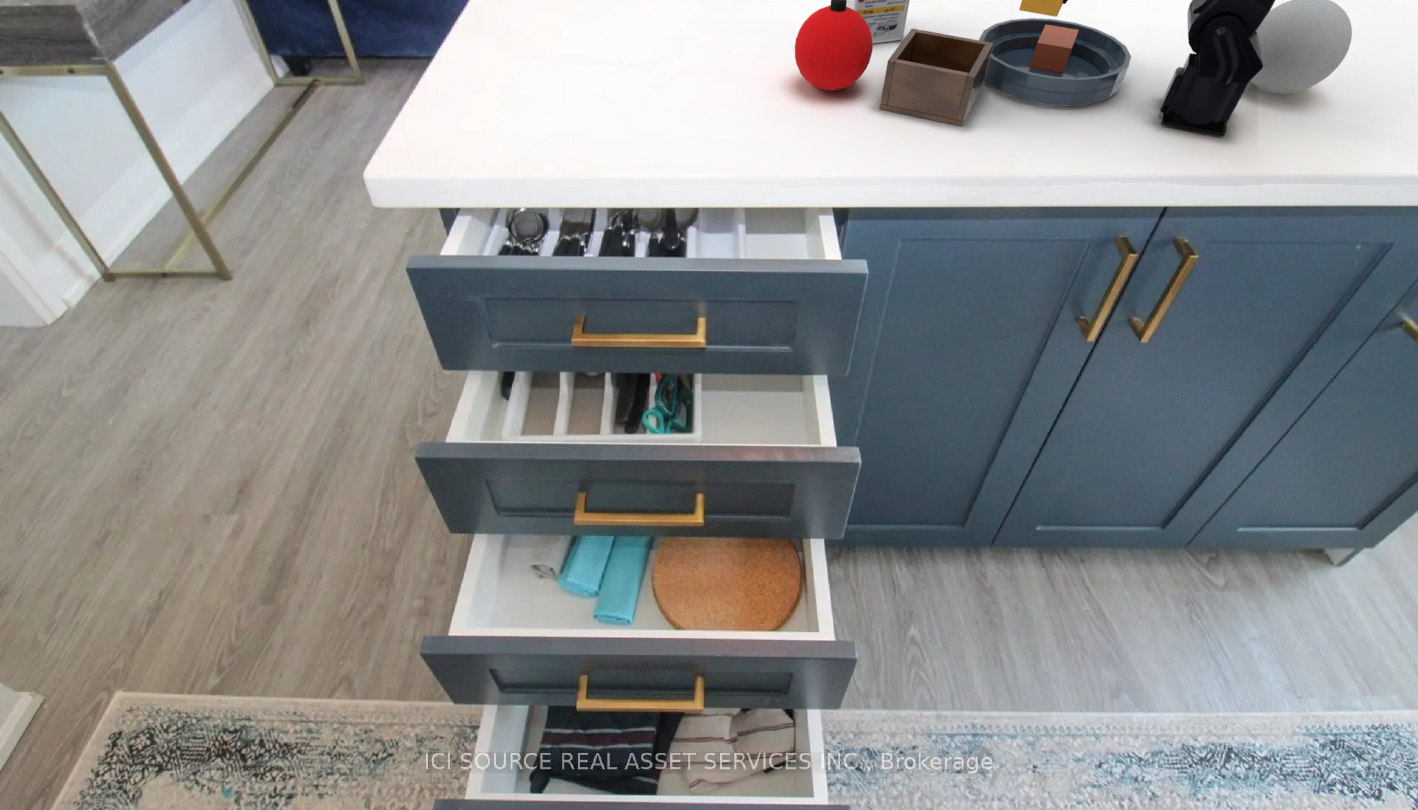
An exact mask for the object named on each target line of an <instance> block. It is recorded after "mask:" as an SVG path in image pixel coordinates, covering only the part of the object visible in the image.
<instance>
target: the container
mask: <svg viewBox="0 0 1418 810" xmlns="http://www.w3.org/2000/svg"><path fill="white" fill-rule="evenodd" d="M909 5H910V0H847V4H846V7H849V8H851V9H853V10H855V11H857V12H858V13H859V14H860V15H861V16H862V17H863V18H864V20H865V21H866V23H867V24H868V26H869V28H870V31H871V35H872V42H873V44H882V43H887V42H896V41H902V40H903V39H904V33H905V28H906V23H907V17H908V12H909Z"/></svg>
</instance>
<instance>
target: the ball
mask: <svg viewBox="0 0 1418 810" xmlns="http://www.w3.org/2000/svg"><path fill="white" fill-rule="evenodd" d="M1349 17H1350V16H1349V15H1348V14H1347V11H1345V10H1344V8H1342V7H1341V6H1340V5H1339V4H1338V3H1336V2H1335V1H1332V0H1288V1H1285V2H1282V3H1281V4H1279V5H1277V6H1274V8H1271V10H1270V11H1269V13H1268V14H1267V16H1266V17H1265V19H1264V20H1263V22H1262V23H1261V25H1260V26H1259V28H1258V29H1257V31H1256V32H1257V34H1258V39H1259V45H1260V51H1261V57H1262V62H1263V68H1262V69H1261V70H1260V71H1259V72H1258V73H1257V74H1256V75H1255V76H1254V77H1253V78H1252V79H1251V80H1250V82H1249V83H1251V84H1253V85H1254V86H1255V87H1257V88H1258V89H1260V90H1262V91H1265V92H1268V93H1272V94H1283V95H1284V94H1291V93H1292V94H1293V93H1297V92H1301V91H1304V90H1307V89H1309V88H1312V87H1313V86H1315V85H1318V84H1319V83H1321V82H1323V81H1324V80H1325V79H1327V78H1328V77H1329V76H1330V75H1331V74H1333V73H1334V71H1335V70H1337V68H1338V67H1339V66H1340V65H1341V64H1342V62H1343V61H1344V59H1346V58H1345V57H1346V56H1347V54H1348V53H1349V49H1350V46H1351V44H1352V37H1353V28H1352V22H1351V19H1350V18H1349Z"/></svg>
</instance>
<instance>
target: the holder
mask: <svg viewBox="0 0 1418 810" xmlns="http://www.w3.org/2000/svg"><path fill="white" fill-rule="evenodd" d="M992 47H993V43H991V42H985V41H980V40H979V39H973V38H968V37H962V36H958V35H957V36H956V35H951V34H946V33H941V32H940V33H939V32H935V31H929V30H924V29H916V28H911V29H910V30H909V31H908V33H907V34H906V36H905V37H903V39H902V40H901V42H900V44H899V45H898V46H897V47H896V49H895V50H894V52H892V54H891V56H890V57H889V58H888V59H887V63H886V70H885V74H884V75H885V76H884V82H883V86H882V92H881V97H880V98H881V99H880V103H879V110H884V111H887V112H892V113H897V114H902V115H906V116H911V117H916V118H921V119H925V120H930V121H934V122H939V123H944V124H948V125H952V126H953V125H954V126H958V127H963V125H964V123H965V122H966V119H967V118H968V116H969V115H970V112H971V111H972V108H973V106H974V105H975V103H976V100H977V98H978V97H979V95H980V93H981V91H982V87H983V84H984V82H983V81H984V77H985V73H986V69H987V66H988V62H989V58H990V55H991V51H992Z"/></svg>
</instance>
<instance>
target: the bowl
mask: <svg viewBox="0 0 1418 810" xmlns="http://www.w3.org/2000/svg"><path fill="white" fill-rule="evenodd" d="M1045 25H1052V26H1058V27H1064V28H1070V29H1076V30H1079V31H1078V34H1077V37H1076V40H1075V42H1074V45H1073V48H1072V51H1071V54H1070V57H1069V59H1068V62H1067V65H1066V67H1065V70H1064V72H1063V73H1058V72H1053V71H1047V70H1042V69H1037V68H1031V67H1030V65H1031V61H1032V58H1033V55H1034V52H1035V49H1036V45H1037V42H1038V40H1039V38H1040V36H1041V34H1042V31H1043V29H1044V27H1045ZM978 40H980V41H985V42H991V43H993V47H992V51H991V55H990V58H989V62H988V66H987V69H986V73H985V77H984V81H983V84H986V85H987V86H989V87H990V88H992V89H994V90H996V92H997V91H998V92H999V93H1001V94H1004V95H1006V96H1010V97H1013V98H1016V99H1019V100H1022V101H1027V102H1031V103H1036V104H1041V105H1051V106H1067V107H1069V106H1070V107H1071V106H1082V105H1092V104H1096V103H1098V102H1103V101H1105V100H1108V99H1109V98H1111V97H1113V95H1115V94H1116V93H1117V92H1119V90H1120V88H1121V86H1122V84H1123V82H1124V79H1125V77H1126V74H1127V72H1128V69H1129V67H1130V63H1131V59H1132V54H1130V51H1129V49H1128V47H1127V46H1126V45H1125V44H1123V43H1122V42H1121V41H1119V40H1118V39H1117V38H1116V37H1114V36H1113V35H1111V34H1108V33H1106V32H1104V31H1102V30H1100V29H1097V28H1094V27H1091V26H1089V25H1084V24H1080V23H1078V22H1074V21H1073V22H1072V21H1066V20H1061V19H1056V18H1055V19H1054V18H1035V17H1034V18H1033V17H1030V18H1029V17H1028V18H1017V19H1016V18H1015V19H1010V20H1006V21H1001V22H997V23H994V24H993V25H991V26H989V27H988V28H986V29H984V30H983V31H982V33H981V35H980V36H979V38H978Z"/></svg>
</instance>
